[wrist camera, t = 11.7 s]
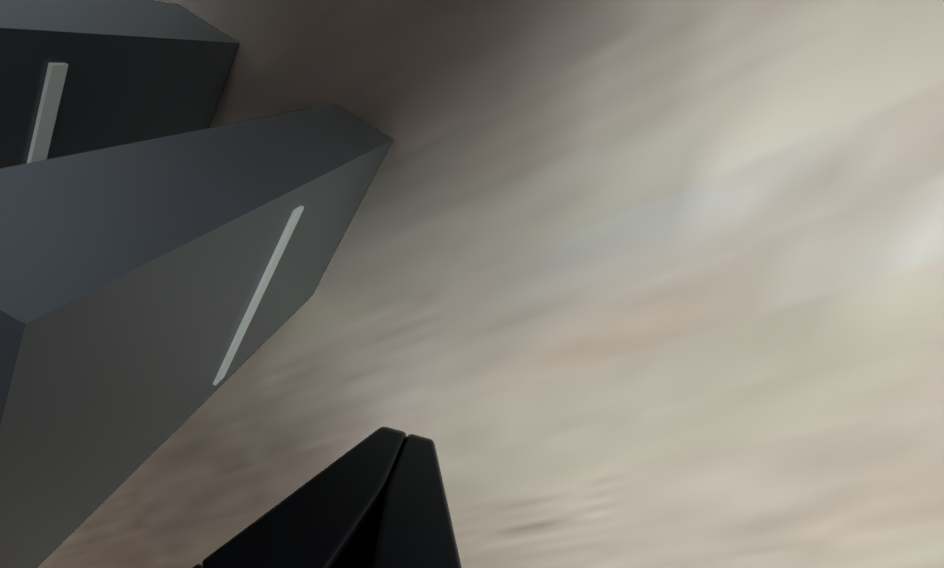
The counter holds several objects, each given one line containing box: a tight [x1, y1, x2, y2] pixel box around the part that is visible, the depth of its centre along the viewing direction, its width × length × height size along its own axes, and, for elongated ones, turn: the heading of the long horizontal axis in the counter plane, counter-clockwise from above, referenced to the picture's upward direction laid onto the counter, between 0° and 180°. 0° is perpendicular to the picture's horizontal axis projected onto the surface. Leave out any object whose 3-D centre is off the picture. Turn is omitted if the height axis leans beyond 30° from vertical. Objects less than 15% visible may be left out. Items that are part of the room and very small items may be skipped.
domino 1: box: [0, 104, 393, 568], centre depth 9 cm, size 2×5×10 cm, turn 149°
